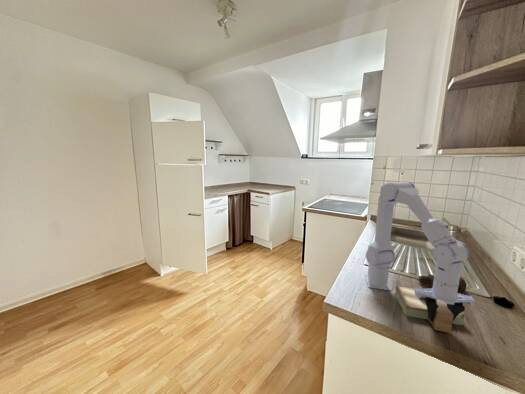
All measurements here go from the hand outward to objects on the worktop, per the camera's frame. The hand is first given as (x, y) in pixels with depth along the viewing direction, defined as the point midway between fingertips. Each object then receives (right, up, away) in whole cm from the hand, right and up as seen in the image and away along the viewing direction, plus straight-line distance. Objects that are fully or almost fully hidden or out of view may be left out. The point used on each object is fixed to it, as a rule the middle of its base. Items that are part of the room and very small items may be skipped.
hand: (439, 320), depth 69 cm
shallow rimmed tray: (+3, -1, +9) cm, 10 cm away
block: (0, -2, 0) cm, 2 cm away
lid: (+3, +2, +9) cm, 10 cm away
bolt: (+18, +1, +23) cm, 29 cm away
